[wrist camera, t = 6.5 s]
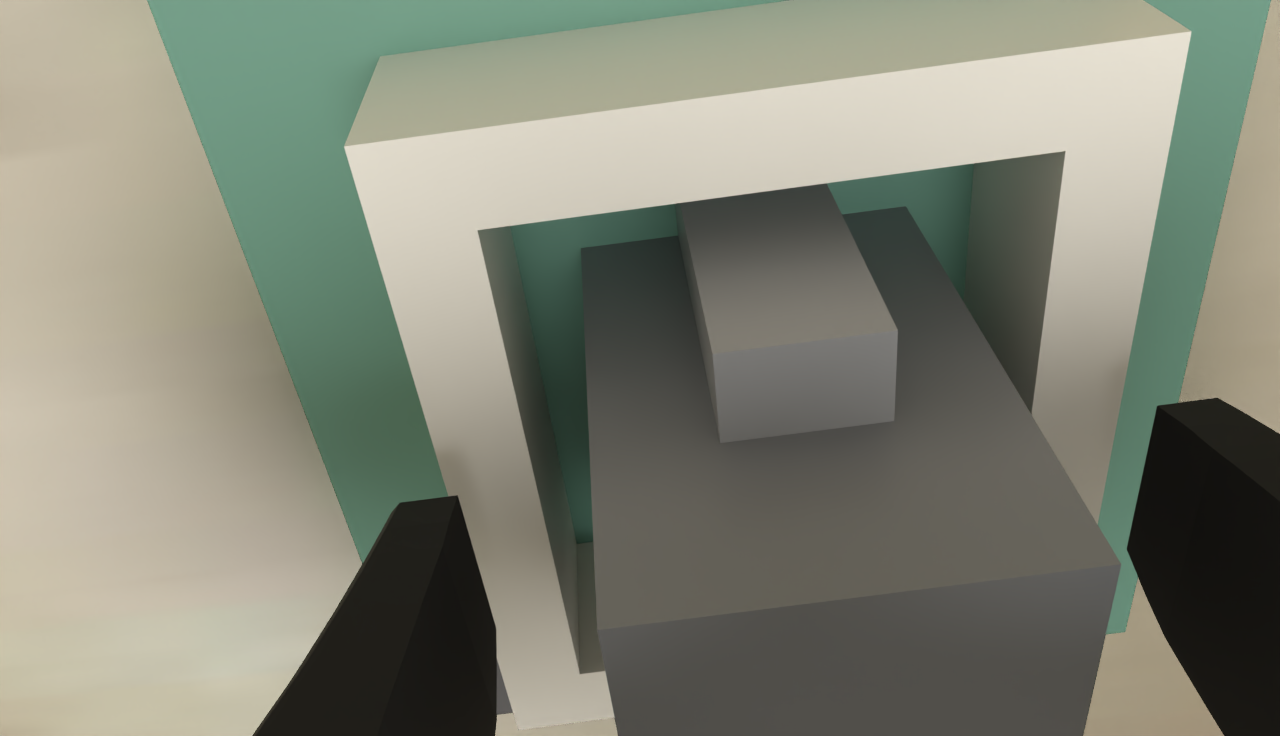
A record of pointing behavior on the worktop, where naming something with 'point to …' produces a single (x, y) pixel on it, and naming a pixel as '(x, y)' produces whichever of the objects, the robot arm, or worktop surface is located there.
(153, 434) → the worktop surface
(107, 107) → the worktop surface
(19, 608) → the worktop surface
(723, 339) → the plug
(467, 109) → the frame
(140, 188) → the worktop surface
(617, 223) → the board
